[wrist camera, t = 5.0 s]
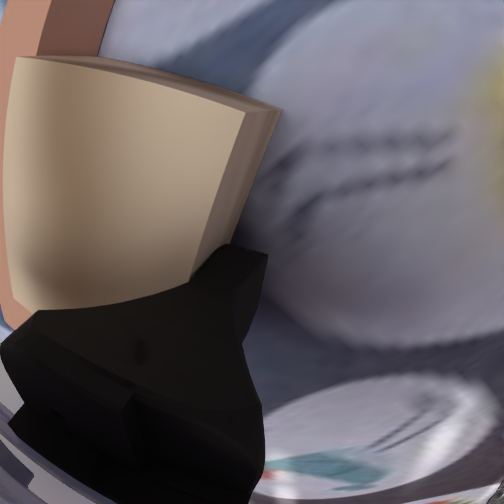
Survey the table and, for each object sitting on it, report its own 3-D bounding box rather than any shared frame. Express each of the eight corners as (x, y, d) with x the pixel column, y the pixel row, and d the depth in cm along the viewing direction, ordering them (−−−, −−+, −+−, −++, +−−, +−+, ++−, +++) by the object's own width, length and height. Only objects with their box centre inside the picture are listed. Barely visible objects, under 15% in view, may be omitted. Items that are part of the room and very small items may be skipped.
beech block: (282, 109, 9) (245, 113, 5) (199, 325, 13) (157, 394, 10) (101, 56, 9) (16, 56, 6) (71, 254, 13) (13, 298, 10)
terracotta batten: (155, -89, 6) (110, -119, 3) (73, 318, 16) (40, 350, 13) (99, -80, 6) (53, -99, 3) (37, 293, 16) (5, 321, 13)
